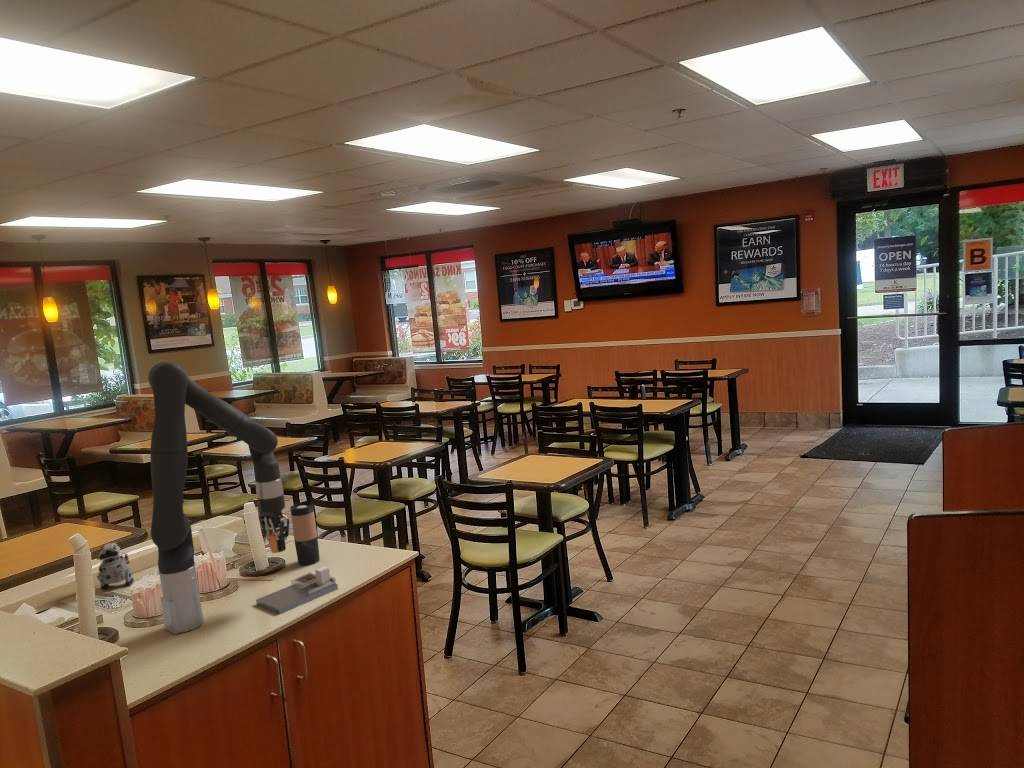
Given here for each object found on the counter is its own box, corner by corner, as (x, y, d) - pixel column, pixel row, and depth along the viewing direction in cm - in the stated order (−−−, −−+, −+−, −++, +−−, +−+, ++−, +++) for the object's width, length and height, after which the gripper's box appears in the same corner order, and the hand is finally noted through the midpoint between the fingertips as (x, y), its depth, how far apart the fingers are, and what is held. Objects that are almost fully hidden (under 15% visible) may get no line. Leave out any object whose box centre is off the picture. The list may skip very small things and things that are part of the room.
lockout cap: (275, 553, 214) (273, 535, 213) (268, 551, 217) (266, 532, 216) (287, 549, 217) (285, 530, 216) (280, 547, 220) (278, 528, 219)
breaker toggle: (322, 587, 220) (320, 571, 219) (317, 585, 222) (315, 569, 221) (331, 583, 222) (328, 567, 221) (325, 581, 224) (323, 566, 223)
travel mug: (323, 557, 252) (316, 501, 249) (315, 565, 244) (308, 508, 241) (302, 558, 252) (295, 503, 250) (294, 566, 245) (286, 509, 242)
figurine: (94, 597, 234) (86, 553, 232) (107, 584, 245) (100, 541, 243) (124, 592, 235) (117, 548, 233) (136, 579, 247) (129, 537, 245)
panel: (279, 614, 207) (278, 603, 206) (256, 604, 216) (255, 593, 215) (338, 588, 222) (336, 578, 221) (314, 580, 230) (312, 570, 230)
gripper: (294, 493, 213) (301, 549, 215) (269, 488, 222) (276, 541, 224) (271, 500, 207) (279, 557, 209) (246, 495, 217) (254, 549, 219)
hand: (278, 549), depth 217 cm, fingers closed on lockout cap, 4 cm apart
